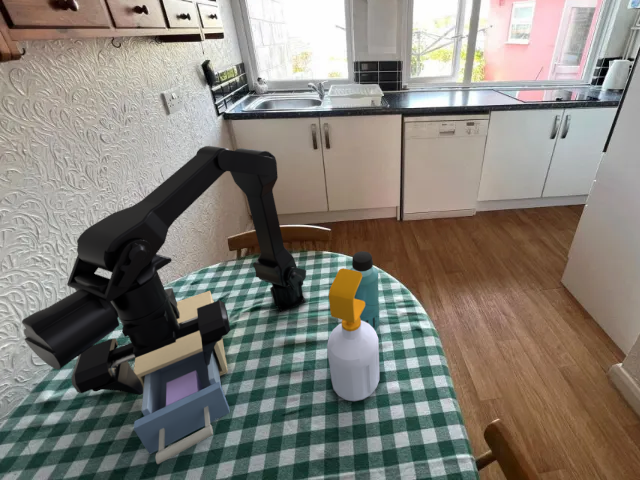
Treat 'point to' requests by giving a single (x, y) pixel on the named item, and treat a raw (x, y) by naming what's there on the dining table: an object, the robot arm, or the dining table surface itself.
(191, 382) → the purple cube
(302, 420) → the dining table surface
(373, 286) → the beverage bottle
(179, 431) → the blue drawer
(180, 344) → the drawer cabinet
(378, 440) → the dining table surface
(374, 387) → the spray bottle
